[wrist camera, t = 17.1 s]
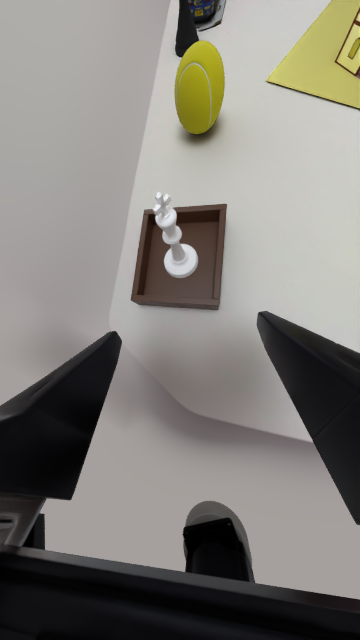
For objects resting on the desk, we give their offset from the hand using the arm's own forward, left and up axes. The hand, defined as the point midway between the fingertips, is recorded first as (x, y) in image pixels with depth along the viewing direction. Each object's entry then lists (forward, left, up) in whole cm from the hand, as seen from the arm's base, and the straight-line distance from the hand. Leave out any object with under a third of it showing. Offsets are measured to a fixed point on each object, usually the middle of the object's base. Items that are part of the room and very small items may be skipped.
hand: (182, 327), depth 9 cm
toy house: (+37, +30, -11) cm, 49 cm away
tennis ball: (+13, +32, -11) cm, 36 cm away
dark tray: (+2, +11, -11) cm, 16 cm away
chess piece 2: (+2, +10, -11) cm, 15 cm away
